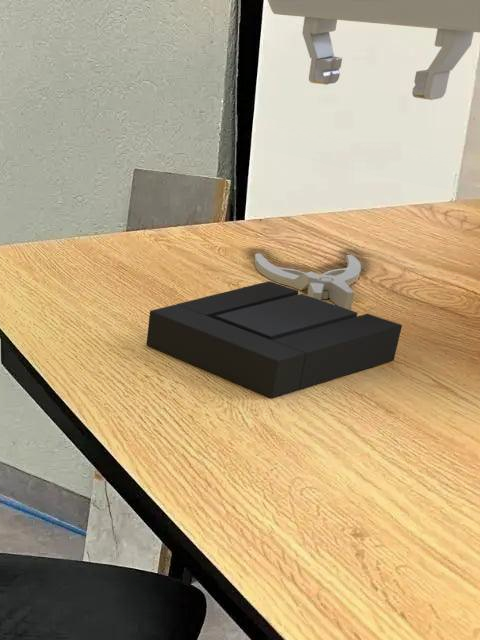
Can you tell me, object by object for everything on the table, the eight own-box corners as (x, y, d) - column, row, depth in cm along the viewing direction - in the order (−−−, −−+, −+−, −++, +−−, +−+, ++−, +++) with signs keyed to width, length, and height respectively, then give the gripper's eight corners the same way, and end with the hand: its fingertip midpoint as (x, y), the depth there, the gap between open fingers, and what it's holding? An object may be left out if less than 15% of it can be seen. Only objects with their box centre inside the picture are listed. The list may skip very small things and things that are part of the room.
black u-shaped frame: (263, 313, 103) (269, 280, 101) (394, 360, 93) (402, 324, 91) (145, 344, 97) (149, 310, 95) (271, 398, 87) (277, 360, 85)
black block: (295, 327, 100) (301, 293, 98) (350, 347, 95) (357, 312, 94) (210, 350, 95) (215, 315, 94) (264, 372, 91) (270, 336, 89)
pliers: (356, 246, 114) (391, 293, 102) (352, 261, 115) (388, 310, 103) (254, 244, 115) (277, 291, 103) (252, 260, 116) (274, 308, 104)
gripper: (586, -136, 71) (528, 101, 79) (325, -128, 86) (298, 70, 94) (523, -131, 69) (470, 114, 76) (266, -124, 84) (242, 80, 91)
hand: (373, 90), depth 85 cm, fingers open, 8 cm apart
